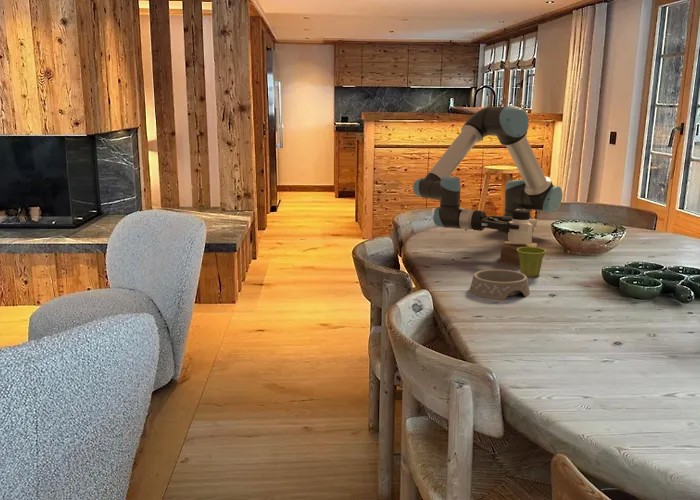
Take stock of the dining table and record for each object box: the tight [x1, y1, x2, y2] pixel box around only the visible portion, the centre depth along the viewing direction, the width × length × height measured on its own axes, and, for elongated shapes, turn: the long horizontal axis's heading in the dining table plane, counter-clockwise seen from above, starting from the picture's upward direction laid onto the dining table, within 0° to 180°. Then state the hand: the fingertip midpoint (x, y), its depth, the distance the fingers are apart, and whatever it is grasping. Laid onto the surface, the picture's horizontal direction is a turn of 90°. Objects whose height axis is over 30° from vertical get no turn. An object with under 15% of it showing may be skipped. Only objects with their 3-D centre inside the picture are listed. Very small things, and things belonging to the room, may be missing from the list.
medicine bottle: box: [507, 209, 534, 244], centre depth 226 cm, size 7×7×12 cm
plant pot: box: [517, 246, 547, 278], centre depth 210 cm, size 9×9×9 cm
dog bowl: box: [469, 269, 531, 301], centre depth 192 cm, size 17×18×5 cm
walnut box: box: [499, 240, 538, 266], centre depth 228 cm, size 12×12×6 cm
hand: (532, 225), depth 224 cm, fingers closed on medicine bottle, 9 cm apart
